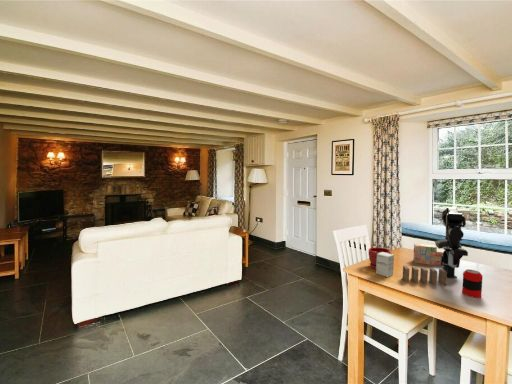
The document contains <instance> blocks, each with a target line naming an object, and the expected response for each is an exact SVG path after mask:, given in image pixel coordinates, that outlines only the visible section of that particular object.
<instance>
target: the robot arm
mask: <svg viewBox="0 0 512 384" xmlns="http://www.w3.org/2000/svg"><path fill="white" fill-rule="evenodd" d="M441 220H442V224H443V225H444V227H445V237H444V238H442V239H439V240H435V241H434V244H435V246H436V247H437V248H438V250H444V252H443V254H442V255H441V260H440V264H441V265H443V266H442V269H444V270H445V271H446V272H447V278H455V279H457V278H458V276H457V275H455V272H456V269H459V268H460V263H461V259H462V258H463V257H468V256H469V251H467V250H466V249H465V248H462V245H461V241H463V237H464V234H465V233H464V232H463V230H462V228H465V226H466V225H467V224H466V217H465V215H463V212H462V213H461V212H459V211H458V207H455V206H447V207H445V209H444V210H442V212H441ZM449 251H451V252H449ZM449 253H450V254H451V255H452V258H453V265H456V264H457V266H456V268H453V267H451V266H450V265H448V258H449ZM442 262H443V263H442Z"/></svg>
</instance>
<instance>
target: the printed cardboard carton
mask: <svg viewBox="0 0 512 384" xmlns="http://www.w3.org/2000/svg"><path fill="white" fill-rule="evenodd" d="M437 248H438V247H436V245H433V244H425V243H424V244H423V243H414V244H413V261H414V264H415V263H416V264H421V265H422V264H424V265H432V266H442V267H443V265H441V264H440V260H441V255H442V254H443V252H444V251H445V250H444V249H437ZM442 263H443V262H442Z"/></svg>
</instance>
